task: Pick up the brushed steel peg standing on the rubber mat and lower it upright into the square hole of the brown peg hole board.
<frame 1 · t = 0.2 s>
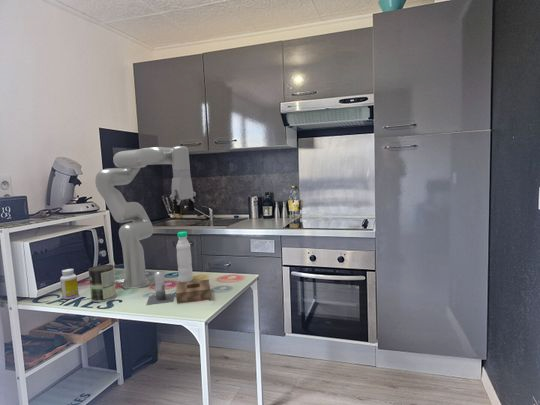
hand: (184, 212, 158), 37 cm above the table, tool pointing down, fingers open, 9 cm apart
water bottle: (186, 281, 178), on the table
brown peg hole board: (194, 296, 154), on the table
coffee can: (104, 298, 159), on the table
supplement bottle: (70, 297, 163), on the table
steel peg: (161, 299, 152), point 1 cm above the table, touching rubber mat
rubber mat: (161, 300, 152), on the table
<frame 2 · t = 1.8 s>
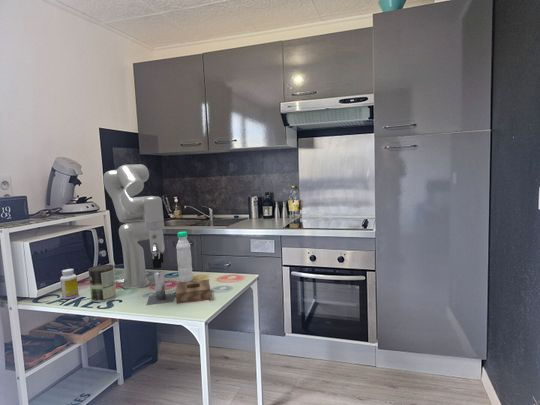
hand: (158, 265, 150), 16 cm above the table, tool pointing down, fingers open, 9 cm apart
nothing on the table moved.
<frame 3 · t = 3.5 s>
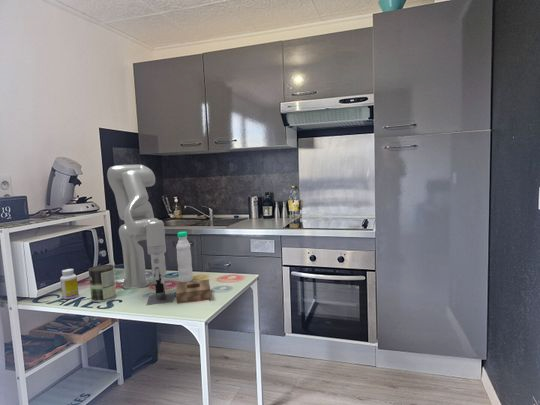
hand: (160, 290, 152), 4 cm above the table, tool pointing down, fingers closed on steel peg, 4 cm apart
steel peg: (161, 299, 152), point 1 cm above the table, touching gripper, rubber mat
everything else where it was.
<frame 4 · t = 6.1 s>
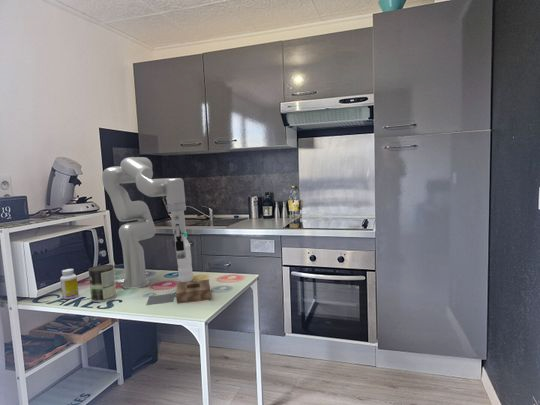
hand: (180, 249, 151), 22 cm above the table, tool pointing down, fingers closed on steel peg, 4 cm apart
steel peg: (181, 257, 151), point 18 cm above the table, touching gripper
everything else where it was.
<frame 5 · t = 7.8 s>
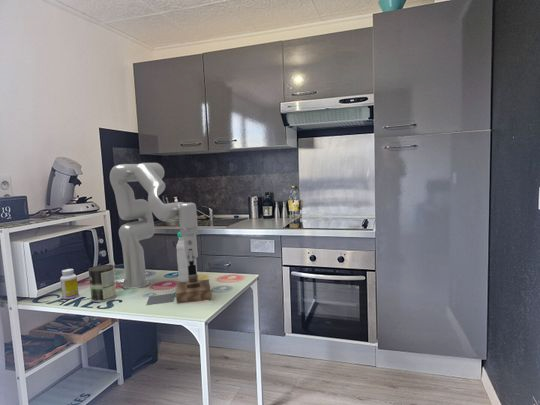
hand: (192, 272, 153), 11 cm above the table, tool pointing down, fingers closed on steel peg, 4 cm apart
steel peg: (193, 281, 153), point 7 cm above the table, touching gripper
everything else where it was.
when the fingers open (6 cm above the table, at t = 9.0 s): steel peg drops 2 cm, resting in brown peg hole board.
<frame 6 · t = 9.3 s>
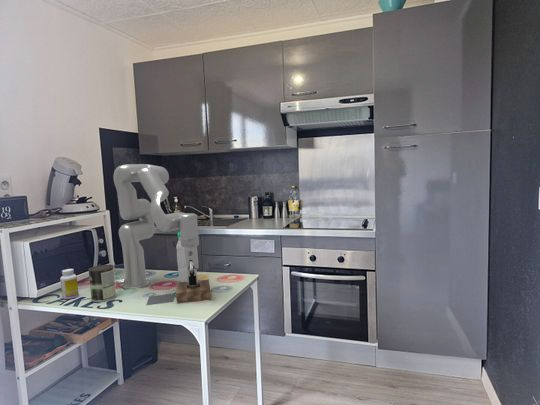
hand: (193, 282, 153), 7 cm above the table, tool pointing down, fingers open, 6 cm apart
steel peg: (194, 297, 154), resting in brown peg hole board
everything else where it was.
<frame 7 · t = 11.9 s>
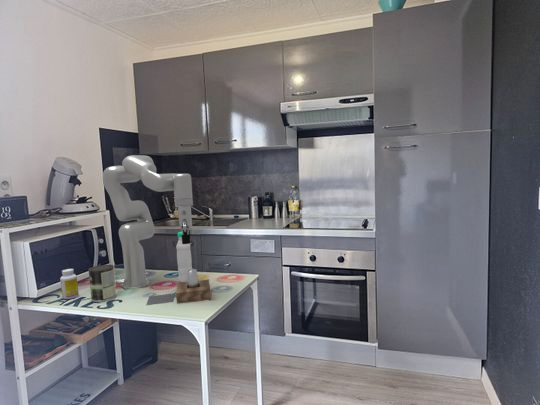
hand: (186, 241, 153), 25 cm above the table, tool pointing down, fingers open, 9 cm apart
nothing on the table moved.
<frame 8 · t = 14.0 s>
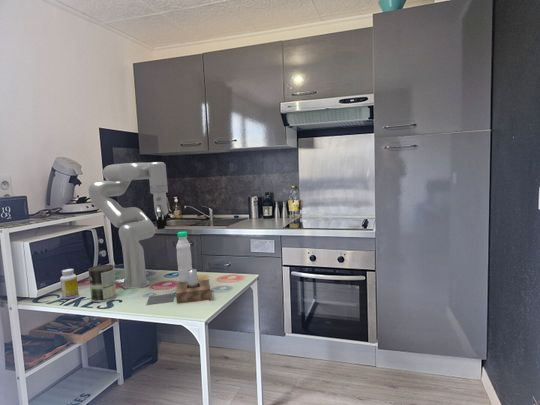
hand: (162, 227, 159), 30 cm above the table, tool pointing down, fingers open, 9 cm apart
nothing on the table moved.
at the end: steel peg 0.1 cm off-centre on the brown peg hole board, point 0.0 cm above the brown peg hole board's base; steel peg tilted 0°; the gripper is holding nothing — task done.
